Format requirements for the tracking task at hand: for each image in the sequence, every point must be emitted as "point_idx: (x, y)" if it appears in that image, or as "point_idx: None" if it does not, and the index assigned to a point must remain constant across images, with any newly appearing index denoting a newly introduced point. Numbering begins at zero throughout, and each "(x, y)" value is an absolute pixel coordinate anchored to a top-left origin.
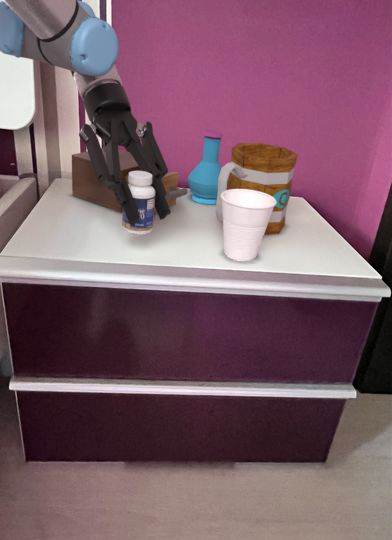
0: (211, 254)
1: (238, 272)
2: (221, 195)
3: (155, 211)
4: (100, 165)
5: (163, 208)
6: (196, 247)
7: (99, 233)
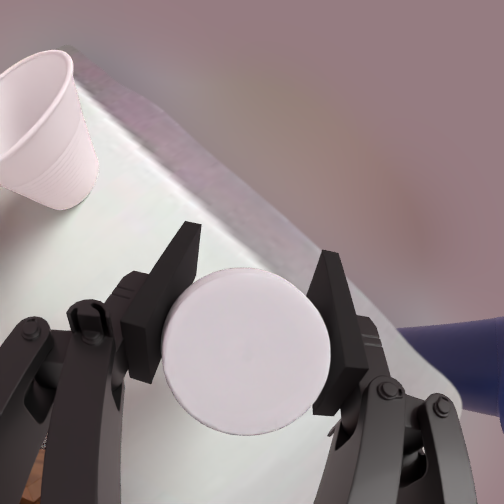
0: (102, 217)
1: (141, 134)
2: (21, 142)
3: (42, 449)
4: (467, 459)
5: (194, 245)
6: (94, 264)
7: (230, 473)
